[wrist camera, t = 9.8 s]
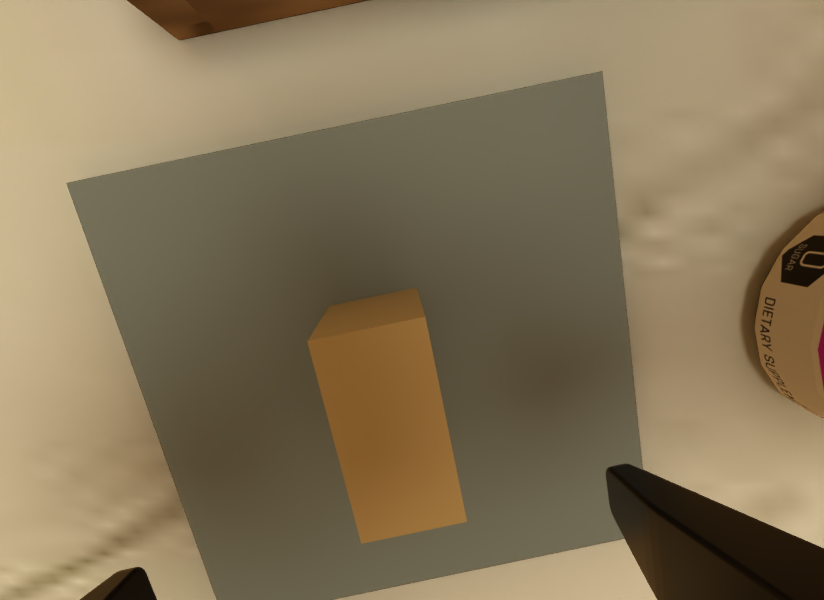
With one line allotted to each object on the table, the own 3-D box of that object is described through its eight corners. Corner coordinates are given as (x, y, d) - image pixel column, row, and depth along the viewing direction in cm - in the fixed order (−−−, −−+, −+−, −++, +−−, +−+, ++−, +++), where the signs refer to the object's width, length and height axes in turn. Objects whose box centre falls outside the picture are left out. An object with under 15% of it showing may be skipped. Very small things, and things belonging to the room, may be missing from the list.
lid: (585, 81, 15) (685, 18, 10) (632, 512, 19) (723, 628, 14) (92, 184, 15) (-63, 174, 10) (235, 595, 19) (176, 742, 13)
